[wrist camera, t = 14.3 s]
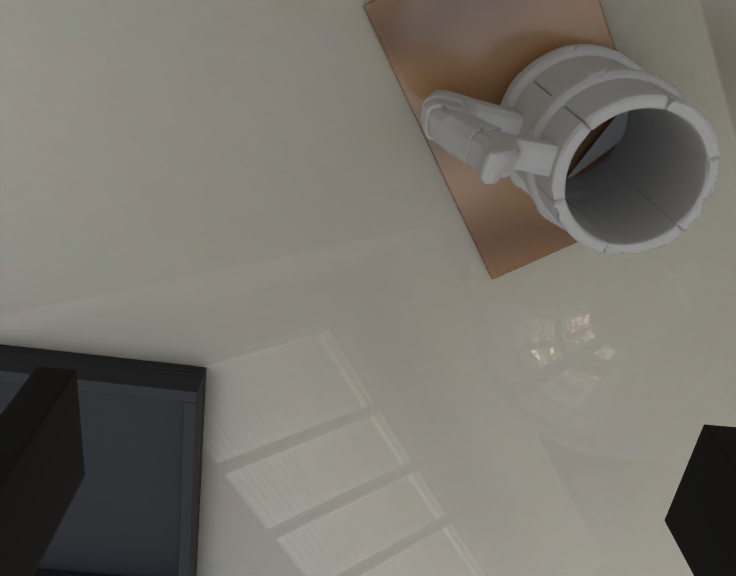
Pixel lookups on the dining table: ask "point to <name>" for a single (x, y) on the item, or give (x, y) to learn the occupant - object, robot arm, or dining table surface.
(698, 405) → the dining table surface
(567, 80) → the mug
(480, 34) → the mat
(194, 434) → the tray
